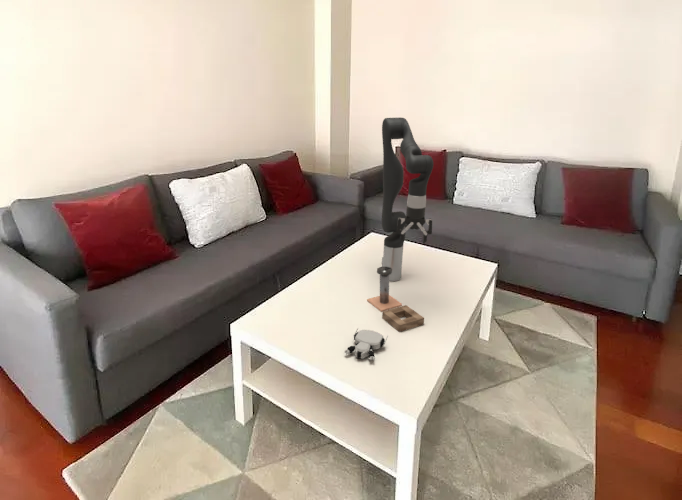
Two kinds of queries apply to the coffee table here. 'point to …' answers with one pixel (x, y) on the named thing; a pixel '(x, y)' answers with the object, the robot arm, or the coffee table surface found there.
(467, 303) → the coffee table surface
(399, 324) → the collar
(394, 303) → the pad
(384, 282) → the peg
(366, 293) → the coffee table surface
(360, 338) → the robot toy
